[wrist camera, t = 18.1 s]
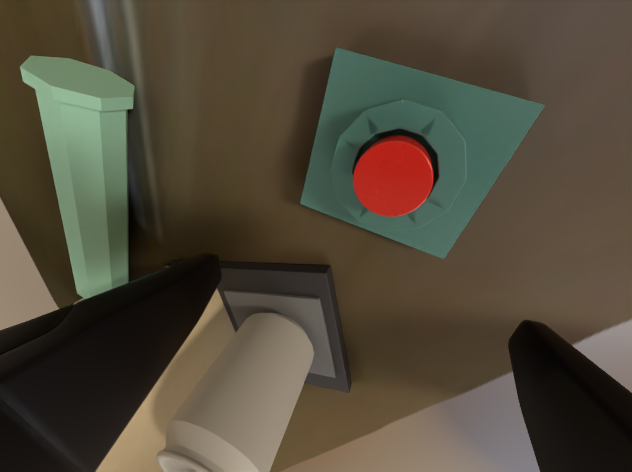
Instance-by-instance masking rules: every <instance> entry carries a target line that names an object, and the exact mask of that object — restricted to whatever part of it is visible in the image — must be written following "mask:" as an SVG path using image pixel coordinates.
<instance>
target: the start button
mask: <svg viewBox="0 0 632 472" xmlns="http://www.w3.org/2000/svg"><path fill="white" fill-rule="evenodd" d="M432 186H433V168H432V163H431V159H430V156H429V154H428V152H427V150H426V149H425V148H424V147H423V146H422V144H420V143H419V142H418V141H416V140H414V139H412V138H410V137H407V136H401V135H393V136H388V137H385V138H382V139H380V140H378V141H376V142H375V143H374V144H372V145H371V146H370V147H369V148H368V149H367V150H366V151H365V153H364V154H363V155H362V156H361V158H360V159H359V160H358V162H357V164H356V167H355V169H354V173H353V187H354V191H355V193H356V196H357V198H358V199H359V201H360V202H361V203H362V204H363V205H364V206H365V207H366V208H367V209H368V210H370V211H371V212H373V213H376V214H378V215H381V216H387V217H396V216H402V215H405V214H408V213H410V212H412V211H414V210H416V209H417V208H418V207H420V206H421V205H422V204H423V203H424V201H425V200H426V199H427V197H428V196H429V194H430V192H431V189H432Z"/></svg>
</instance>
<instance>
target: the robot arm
mask: <svg viewBox="0 0 632 472" xmlns="http://www.w3.org/2000/svg"><path fill="white" fill-rule="evenodd" d="M221 278H222V273H221V267H220V261H219V257H218V256H217V255H214V254H209V253H204V254H201V255H199V256H196V257H193V258H191V259H188V260H186V261H183V262H180V263H178V264H175V265H173V266H170V267H167V268H165V269H162V270H160V271H157V272H154V273H152V274H149V275H147V276H144V277H141V278H139V279H136V280H134V281H131V282H129V283H126V284H123V285H121V286H118V287H116V288H113V289H110V290H108V291H105V292H103V293H100V294H97V295H95V296H92V297H90V298H87V299H84V300H82V301H79V302H77V303H76V304H71V305H69V306H66V307H64V308H61V309H58V310H56V311H53V312H51V313H48V314H45V315H42V316H40V317H37V318H34V319H32V320H29V321H26V322H24V323H20V324H18V325H15V326H12V327H9V328H6V329H3V330H0V472H96V470H97V469H98V467H99V466H100V464H101V463H102V461H103V460H104V459H105V457H106V456H107V454H108V453H109V451H110V450H111V448H112V447H113V445H114V444H115V442H116V441H117V440H118V438H119V437H120V435H121V434H122V432H123V431H124V429H125V428H126V426H127V425H128V424H129V422H130V421H131V419H132V418H133V416H134V415H135V413H136V412H137V410H138V409H139V408H140V406H141V405H142V403H143V402H144V400H145V399H146V397H147V396H148V394H149V393H150V391H151V390H152V389H153V387H154V386H155V384H156V383H157V381H158V380H159V378H160V377H161V375H162V374H163V373H164V371H165V370H166V368H167V367H168V365H169V364H170V362H171V361H172V359H173V358H174V356H175V355H176V354H177V352H178V351H179V349H180V348H181V346H182V345H183V343H184V342H185V340H186V339H187V338H188V336H189V335H190V333H191V332H192V330H193V329H194V327H195V326H196V324H197V323H198V321H199V320H200V318H201V316H202V314H203V313H204V311H205V309H206V307H207V305H208V303H209V302H210V300H211V298H212V296H213V294H214V292H215V291H216V289H217V287H218V285H219V283H220V281H221ZM508 348H509V353H510V358H511V364H512V369H513V374H514V379H515V384H516V388H517V394H518V399H519V403H520V407H521V410H522V414H523V417H524V421H525V424H526V427H527V430H528V434H529V437H530V440H531V443H532V446H533V450H534V453H535V456H536V460H537V463H538V466H539V469H540V472H632V393H631V392H630V391H629V390H627V389H626V388H625V387H623V386H622V385H621V384H620V383H618V382H617V381H616V380H615V379H613V378H612V377H611V376H609V375H608V374H607V373H606V372H605V371H603V370H602V369H600V368H599V367H598V366H597V365H596V364H594V363H593V362H592V361H591V360H589V359H588V358H587V357H586V356H584V355H583V354H582V353H580V352H579V351H578V350H577V349H575V348H574V347H573V346H572V345H570V344H569V343H568V342H567V341H565V340H564V339H563V338H561V337H560V336H559V335H558V334H556V333H555V332H554V331H553V330H551V329H550V328H549V327H548V326H546V325H545V324H543V323H540V322H536V321H531V320H524V321H522V322H521V323H520V324H519V326H518V327H517V329H516V330H515V332H514V333H513V334H512V336H511V337H510V339H509V343H508Z"/></svg>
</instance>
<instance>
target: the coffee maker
mask: <svg viewBox="0 0 632 472" xmlns="http://www.w3.org/2000/svg"><path fill="white" fill-rule="evenodd" d="M183 261H186V260H172V261H171V262H169V263H168V264H166V265H165V268H167V267H170V266H173V265H175V264H178V263H180V262H183ZM220 267H221V273H222V278H221V281H220V283H219V285H218V287H217V289H216V291H215V292H214V294H213V296H212V298H211V300H210V302H209V303H208V305H207V307H206V309H205V311H204V313H203V314H202V316H201V318H200V320H199V321H198V323H197V324H196V326H195V327H194V329H193V330H192V332H191V333H190V335H189V336H188V338H187V339H186V340H185V342H184V343H183V345H182V346H181V348H180V349H179V351H178V352H177V354H176V355H175V356H174V358H173V359H172V361H171V362H170V364H169V365H168V367H167V368H166V370H165V371H164V373H163V374H162V375H161V377H160V378H159V380H158V381H157V383H156V384H155V386H154V387H153V389H152V390H151V391H150V393H149V394H148V396H147V397H146V399H145V400H144V402H143V403H142V405H141V406H140V408H139V409H138V410H137V412H136V413H135V415H134V416H133V418H132V419H131V421H130V422H129V424H128V425H127V426H126V428H125V429H124V431H123V432H122V434H121V435H120V437H119V438H118V440H117V441H116V442H115V444H114V445H113V447H112V448H111V450H110V451H109V453H108V454H107V456H106V457H105V459H104V460H103V461H102V463H101V464H100V466H99V467H98V469H97V470H96V472H164V471H163V470H162V469H161V467H160V466H159V464H158V462H157V460H156V457H157V454H158V452H159V451H162V450H163V449H164V448H165V445H166V427H167V424H168V422H169V421H170V419H171V418H172V417H173V415H174V414H175V413H176V411H177V410H178V409H179V407H180V406H181V405H182V403H183V402H184V401H185V399H186V398H187V397H188V395H189V394H190V393H191V391H192V390H193V389H194V387H195V386H196V385H197V384H198V382H199V381H200V380H201V378H202V377H203V376H204V374H205V373H206V372H207V370H208V369H209V368H210V366H211V365H212V364H213V362H214V361H215V360H216V358H217V357H218V356H219V354H220V353H221V352H222V350H223V349H224V348H225V346H226V345H227V344H228V342H229V341H230V340H231V338H232V337H233V336H234V334H235V333H236V332H237V330H238V329H239V328H240V327H241V325H242V324H243V323H244V321H245V320H246V319H247V318H248V317H250V316H251V315H253V314H257V313H278V314H281V315H284V316H286V317H289V318H290V319H292V320H293V321H295V322H296V323H297V324H298V325H299V326H300V327H301V328H302V329H303V330H304V331H305V333H306V335H307V336H308V339H309V340H310V342H311V343H312V346H313V350H314V357H313V361H312V364H311V366H310V369H309V371H308V374H307V377H306V379H305V382H304V383H307V384H311V385H316V386H320V387H325V388H330V389H334V390H339V391H343V392H348V393H349V392H350V387H351V377H350V372H349V366H348V361H347V355H346V350H345V344H344V339H343V333H342V328H341V322H340V317H339V311H338V306H337V300H336V295H335V289H334V284H333V278H332V273H331V267H330V265H302V264H274V263H246V262H220Z"/></svg>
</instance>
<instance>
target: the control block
mask: <svg viewBox="0 0 632 472" xmlns="http://www.w3.org/2000/svg"><path fill="white" fill-rule="evenodd" d="M544 106H545V105H544V104H541V103H537V102H533V101H530V100H526V99H522V98H519V97H515V96H511V95H508V94H504V93H501V92H497V91H493V90H490V89H486V88H482V87H479V86H475V85H472V84H468V83H464V82H461V81H457V80H453V79H450V78H446V77H443V76H439V75H435V74H432V73H428V72H424V71H421V70H417V69H414V68H410V67H406V66H403V65H399V64H395V63H392V62H388V61H384V60H381V59H377V58H374V57H370V56H366V55H363V54H359V53H355V52H352V51H348V50H345V49H341V48H337V47H336V48H335V52H334V57H333V61H332V65H331V70H330V74H329V79H328V83H327V87H326V92H325V96H324V100H323V105H322V109H321V114H320V118H319V122H318V127H317V131H316V135H315V140H314V144H313V149H312V153H311V157H310V162H309V166H308V170H307V175H306V179H305V184H304V188H303V192H302V197H301V201H300V204H301V205H304V206H307V207H309V208H312V209H314V210H317V211H320V212H322V213H325V214H327V215H330V216H332V217H335V218H338V219H340V220H343V221H345V222H348V223H351V224H353V225H356V226H358V227H361V228H364V229H366V230H369V231H371V232H374V233H377V234H379V235H382V236H384V237H387V238H390V239H392V240H395V241H397V242H400V243H403V244H405V245H408V246H410V247H413V248H416V249H418V250H421V251H423V252H426V253H429V254H431V255H434V256H436V257H439V258H442V259H444V258H445V257H446V255H447V254H448V252H449V251H450V249H451V248H452V246H453V245H454V243H455V242H456V240H457V239H458V237H459V235H460V234H461V232H462V231H463V229H464V228H465V226H466V225H467V223H468V222H469V220H470V219H471V217H472V216H473V214H474V213H475V211H476V210H477V208H478V207H479V205H480V204H481V202H482V200H483V199H484V197H485V196H486V194H487V193H488V191H489V190H490V188H491V187H492V185H493V184H494V182H495V181H496V179H497V178H498V176H499V175H500V173H501V172H502V170H503V169H504V167H505V165H506V164H507V162H508V161H509V159H510V158H511V156H512V155H513V153H514V152H515V150H516V149H517V147H518V146H519V144H520V143H521V141H522V140H523V138H524V137H525V135H526V134H527V132H528V130H529V129H530V127H531V126H532V124H533V123H534V121H535V120H536V118H537V117H538V115H539V114H540V112H541V111H542V109H543V108H544ZM393 135H401V136H407V137H410V138H412V139H414V140H416V141H418V142H419V143H420V144H422V146H423V147H424V148H425V149H426V150H427V152H428V154H429V156H430V159H431V163H432V168H433V186H432V189H431V192H430V194H429V196H428V197H427V199H426V200H425V201H424V203H423V204H422V205H421V206H420V207H418V208H417V209H416V210H414V211H412V212H410V213H408V214H405V215H402V216H396V217H387V216H381V215H378V214H376V213H373V212H371V211H370V210H368V209H367V208H366V207H365V206H364V205H363V204H362V203H361V202H360V201H359V199H358V198H357V196H356V193H355V191H354V187H353V173H354V169H355V167H356V164H357V162H358V160H359V159H360V158H361V156H362V155H363V154H364V153H365V151H366V150H367V149H368V148H369V147H370V146H371V145H372V144H374V143H375V142H376V141H378V140H380V139H382V138H385V137H388V136H393Z"/></svg>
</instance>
